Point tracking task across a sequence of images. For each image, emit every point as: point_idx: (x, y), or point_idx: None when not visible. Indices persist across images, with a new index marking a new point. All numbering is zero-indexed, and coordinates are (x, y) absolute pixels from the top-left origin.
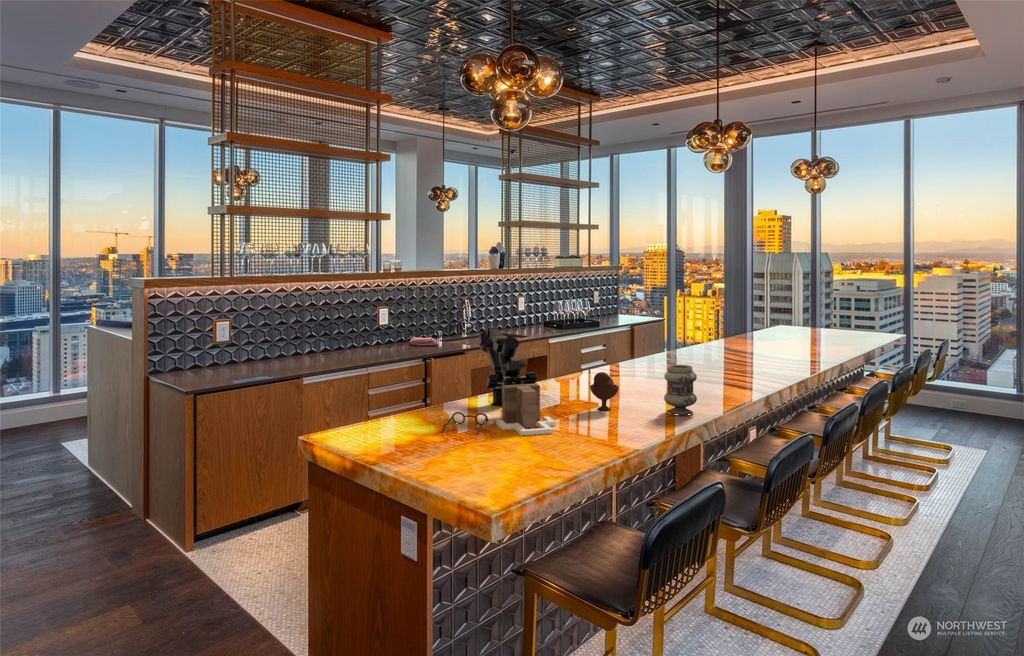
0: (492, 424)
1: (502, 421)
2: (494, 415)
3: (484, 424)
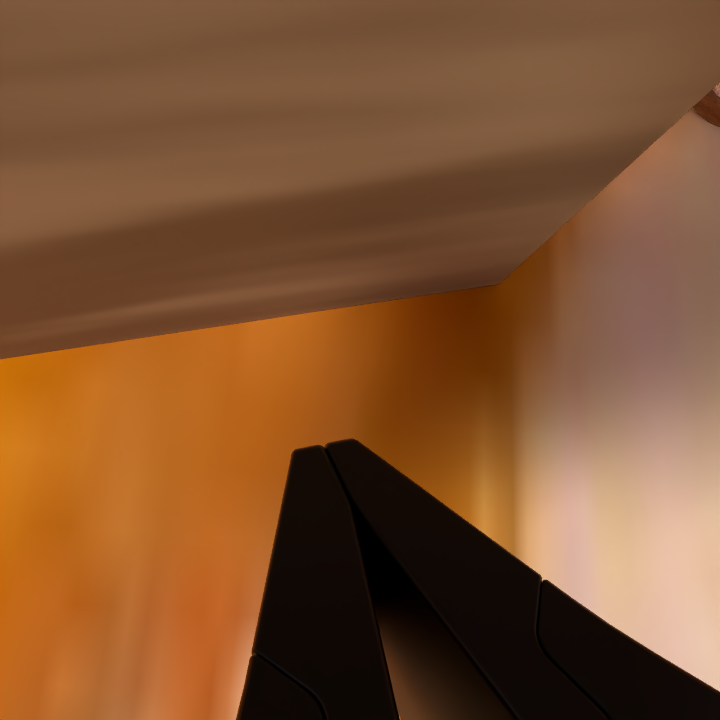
0: None
1: None
2: (619, 628)
3: (705, 95)
